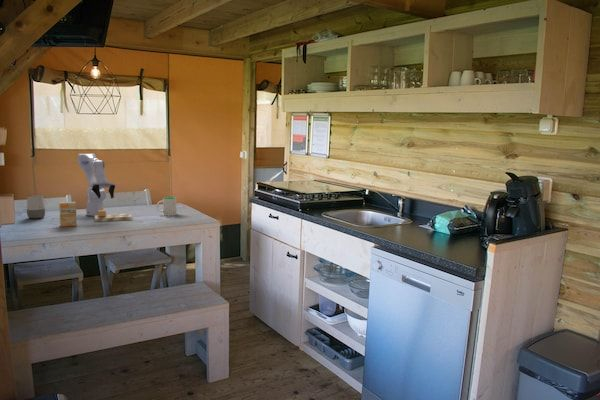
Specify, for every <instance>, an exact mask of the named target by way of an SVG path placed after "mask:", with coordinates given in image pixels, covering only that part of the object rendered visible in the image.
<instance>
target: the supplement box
mask: <svg viewBox="0 0 600 400" xmlns="http://www.w3.org/2000/svg"><path fill="white" fill-rule="evenodd" d="M58 204H59V205H58V206H59V224H60V227H73V226H74V227H77V226H78V222H77V221H78V219H77V218H78V217H77V202H76V201H59V203H58Z"/></svg>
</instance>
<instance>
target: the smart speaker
mask: <svg viewBox="0 0 600 400" xmlns="http://www.w3.org/2000/svg"><path fill="white" fill-rule="evenodd" d="M45 207H46V205H45V201H44V195H43V194H39V195H33V196H28V197H27V198H26V215H27V217H28V218H29V219H30V220H39V219H43V218H45V216H46V208H45Z"/></svg>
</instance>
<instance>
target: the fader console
mask: <svg viewBox="0 0 600 400" xmlns="http://www.w3.org/2000/svg"><path fill="white" fill-rule="evenodd" d="M132 219H133V218H132V214H131V213H115V214H106V216H98V215H95V216H94V222H95V223H99V222H101V221H102V222H118V221H132ZM102 222H101V223H102Z"/></svg>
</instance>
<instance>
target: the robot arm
mask: <svg viewBox="0 0 600 400" xmlns="http://www.w3.org/2000/svg"><path fill="white" fill-rule="evenodd" d="M77 163H78V166H79V169H82V170H83V172H84V175H85V179H86V181H87V183H88V185H89V186H88V187H87V189H86V196H87V197H86V198H87V201H86V203H85V209H86V211H85V212H86V214H85V216H93V217H95V215H98V210H105V209H104V201H105V199H106V198H107V192H106V189H104V188H108V193H109V196H110V199H111V200H112V199H114V196H115V188H116V187H117V186H116V183H113V182H108V179H107V175H106V171H105V161H104V159H101V160H100V159H99V158H97V156H96V154H95V153H78V154H77ZM106 215H108V213H107V212H106Z"/></svg>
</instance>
